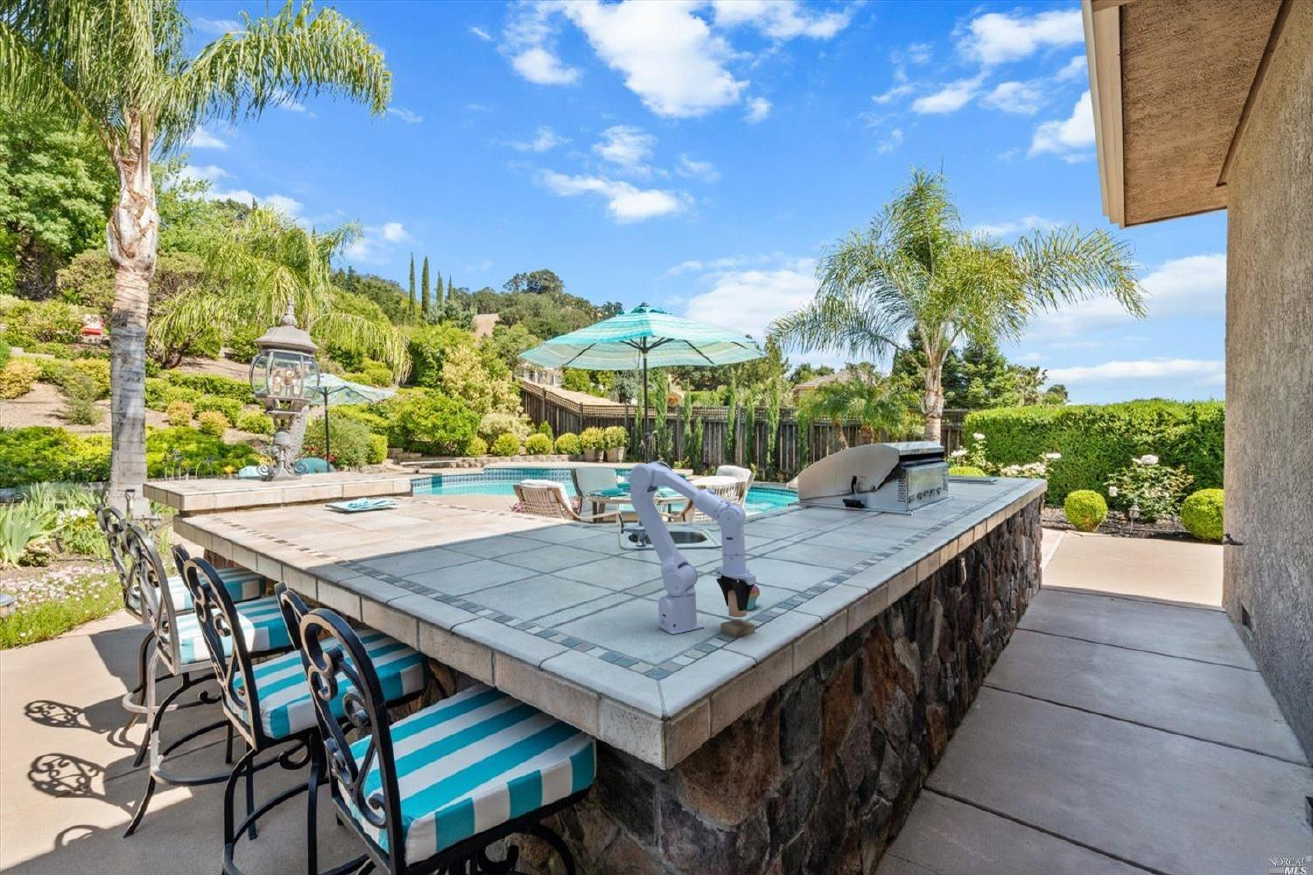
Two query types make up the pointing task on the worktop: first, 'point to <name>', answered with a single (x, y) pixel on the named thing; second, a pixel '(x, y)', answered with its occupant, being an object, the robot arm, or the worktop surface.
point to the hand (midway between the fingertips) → (736, 607)
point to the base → (737, 628)
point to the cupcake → (753, 597)
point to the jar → (734, 605)
